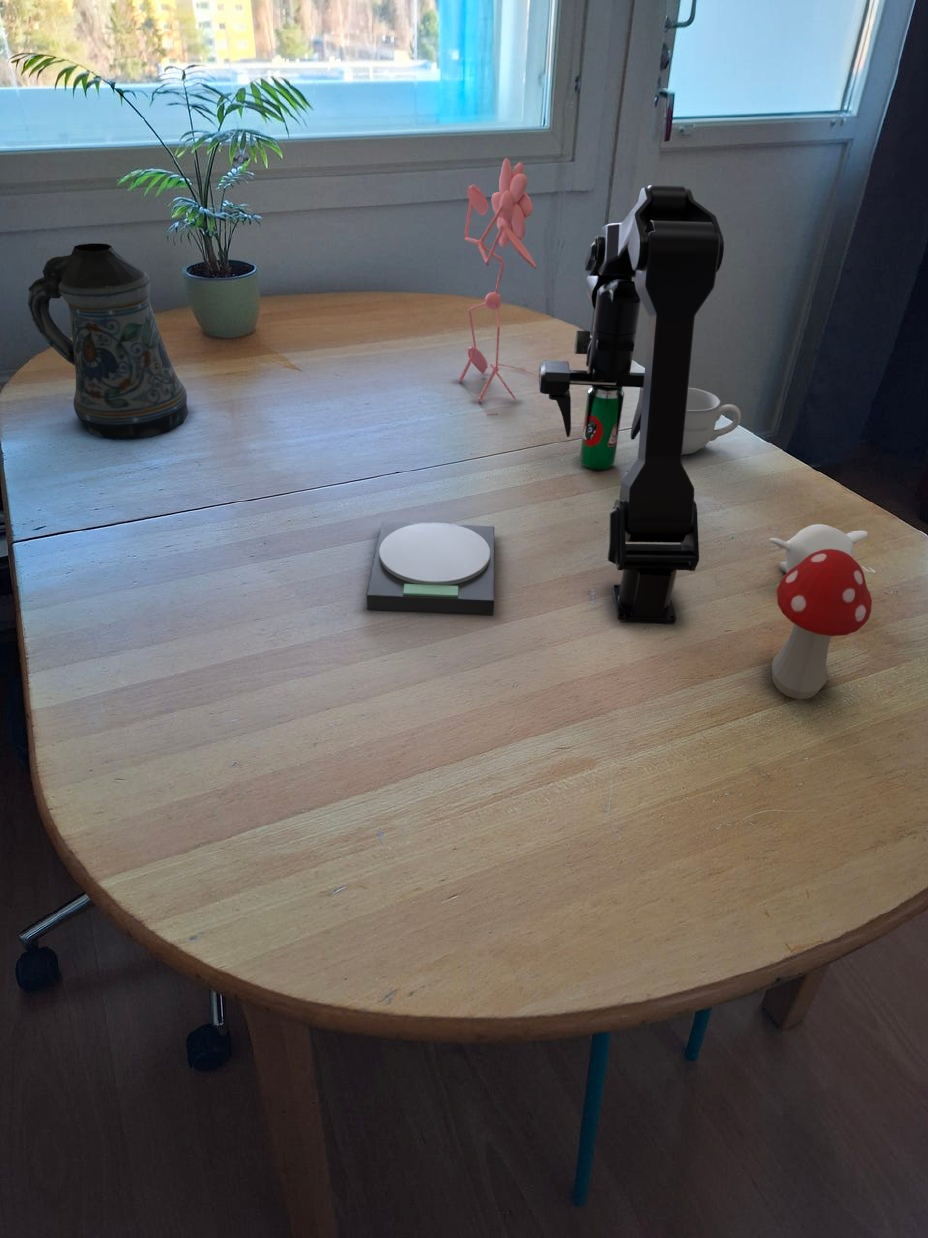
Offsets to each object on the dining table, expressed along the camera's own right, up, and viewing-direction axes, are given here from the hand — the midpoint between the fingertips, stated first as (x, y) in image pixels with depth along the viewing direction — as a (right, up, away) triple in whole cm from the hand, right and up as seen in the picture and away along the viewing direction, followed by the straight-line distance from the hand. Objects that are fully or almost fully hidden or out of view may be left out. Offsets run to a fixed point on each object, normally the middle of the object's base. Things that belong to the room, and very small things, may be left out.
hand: (600, 436), depth 125 cm
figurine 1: (-12, +13, +25) cm, 31 cm away
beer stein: (-72, +5, +10) cm, 73 cm away
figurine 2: (+21, -23, -22) cm, 38 cm away
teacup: (+14, 0, +8) cm, 16 cm away
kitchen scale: (-23, -21, -22) cm, 38 cm away
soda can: (0, -4, +3) cm, 4 cm away
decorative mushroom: (+14, -33, -36) cm, 50 cm away
